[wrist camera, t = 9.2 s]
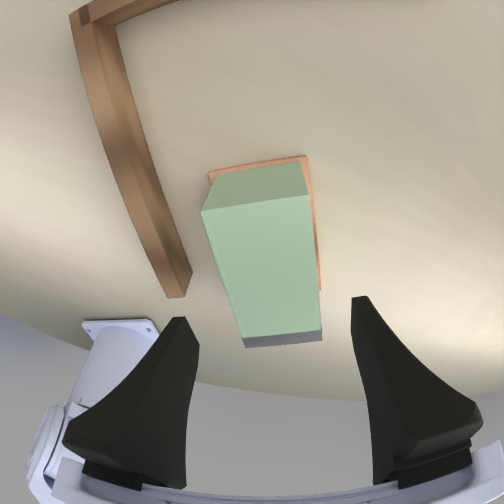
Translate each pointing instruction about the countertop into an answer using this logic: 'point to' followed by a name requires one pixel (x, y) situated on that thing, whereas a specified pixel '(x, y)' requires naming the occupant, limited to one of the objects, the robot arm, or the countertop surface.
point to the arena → (138, 138)
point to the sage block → (266, 253)
